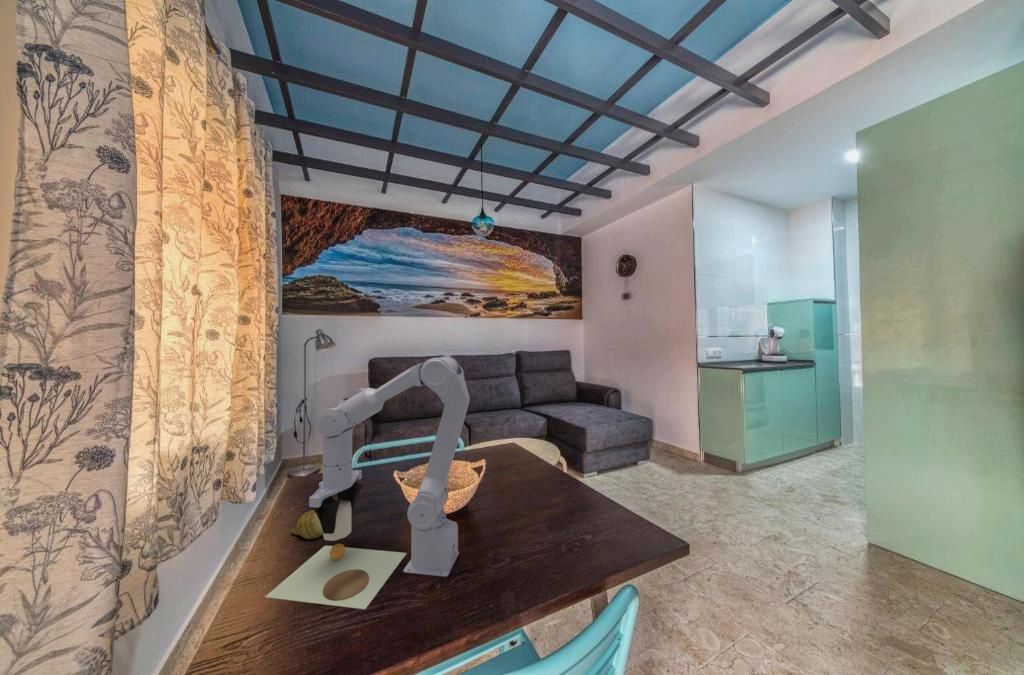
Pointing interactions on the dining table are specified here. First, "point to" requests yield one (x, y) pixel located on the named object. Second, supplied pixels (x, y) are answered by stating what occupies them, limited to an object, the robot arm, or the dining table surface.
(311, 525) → the seashell
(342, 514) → the cup
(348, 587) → the coaster
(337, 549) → the ball
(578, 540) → the dining table surface
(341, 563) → the placemat
